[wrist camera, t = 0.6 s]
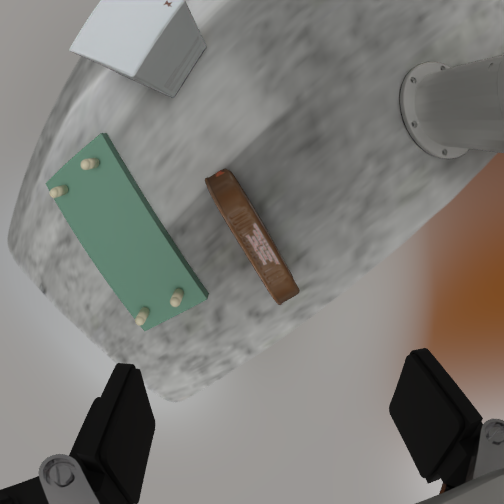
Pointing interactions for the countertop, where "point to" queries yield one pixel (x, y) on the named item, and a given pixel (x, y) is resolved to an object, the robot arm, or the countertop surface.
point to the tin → (251, 235)
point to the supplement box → (143, 41)
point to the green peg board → (124, 235)
